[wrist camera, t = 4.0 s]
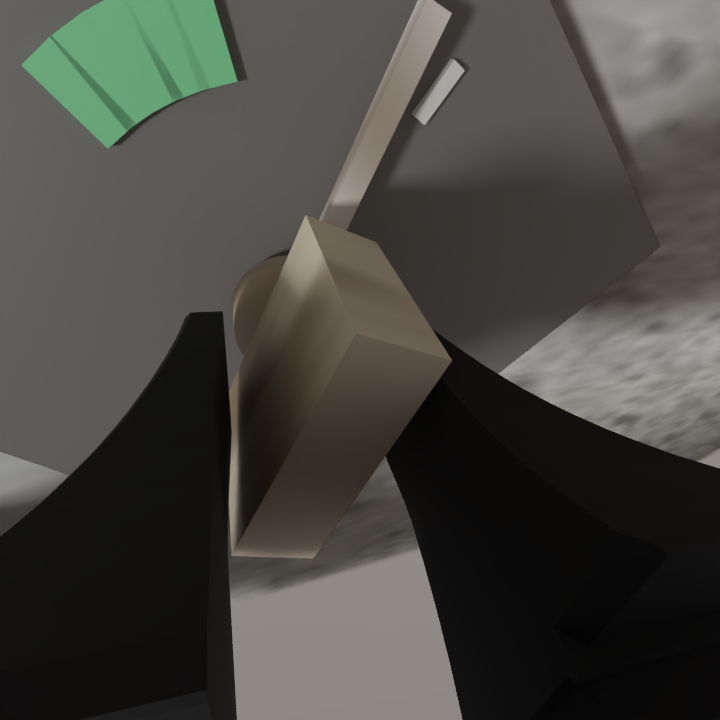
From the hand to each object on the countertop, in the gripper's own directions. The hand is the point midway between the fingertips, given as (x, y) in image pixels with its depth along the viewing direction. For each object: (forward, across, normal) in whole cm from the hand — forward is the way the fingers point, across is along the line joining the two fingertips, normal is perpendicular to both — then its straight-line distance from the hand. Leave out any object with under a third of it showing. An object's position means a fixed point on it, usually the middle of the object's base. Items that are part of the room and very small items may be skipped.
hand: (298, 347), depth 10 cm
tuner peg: (+2, -1, -2) cm, 3 cm away
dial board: (+3, 0, 0) cm, 3 cm away
